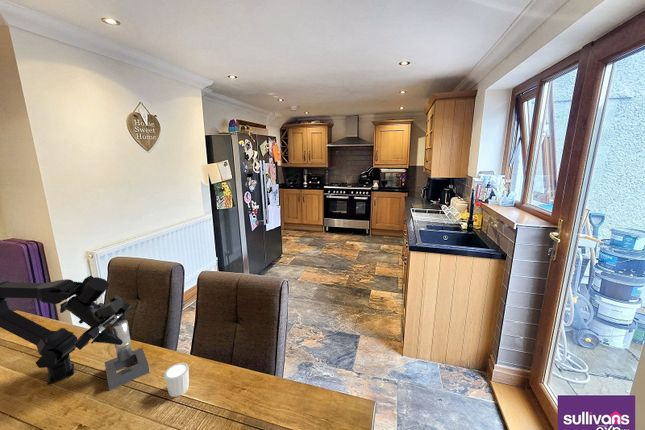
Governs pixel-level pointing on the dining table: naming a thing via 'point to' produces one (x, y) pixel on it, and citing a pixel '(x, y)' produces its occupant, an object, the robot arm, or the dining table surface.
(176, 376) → the white cylinder
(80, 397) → the dining table surface
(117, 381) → the collar block
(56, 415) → the dining table surface
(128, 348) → the grey rounded cylinder
